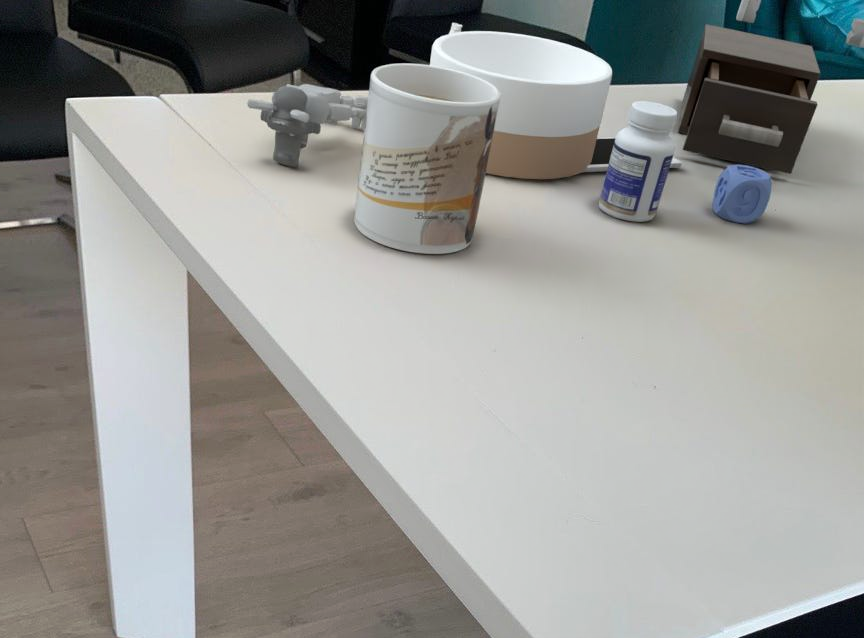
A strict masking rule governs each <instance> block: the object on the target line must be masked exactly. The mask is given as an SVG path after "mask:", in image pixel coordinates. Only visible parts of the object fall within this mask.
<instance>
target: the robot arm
mask: <svg viewBox="0 0 864 638" xmlns="http://www.w3.org/2000/svg"><path fill="white" fill-rule="evenodd" d="M761 2H762V0H741V2H740V4H739V7H738V10H737V14H736V17H735V19H736V21H739V22H743V23H747V24H748V23H749V24H754V23H755V21H756V17H757V11H758V10H759V9H760V5H761ZM850 27H851V30H850V31H849V32H848V34H847V37H846V39H845V43H846V45H849V46H853V47H857V48H861V49H864V19H863V18H857V17H855V18H854V19H853V21H852V23H851V26H850Z"/></svg>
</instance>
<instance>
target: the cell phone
mask: <svg viewBox="0 0 864 638" xmlns="http://www.w3.org/2000/svg"><path fill="white" fill-rule="evenodd" d="M615 139H616V136H614V137H613V136H612V137H611V136H610V137H597V140H596V144H595V148H594V153H593V157H592V161H591V163H590V164H589V165H588V167H587V168H586V170H584V171H583V172H582V173H597V172H598V173H599V172H607V169H608V165H609V161H610V157H611V153H612V149H613V145H614V142H615ZM681 166H682V161H681V160H680V159H677V158H676V157H674V156H673V158H672V161H671V165H670V168H669V169H680V168H681Z"/></svg>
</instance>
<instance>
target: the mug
mask: <svg viewBox="0 0 864 638" xmlns="http://www.w3.org/2000/svg"><path fill="white" fill-rule="evenodd" d="M367 94H368V96H367V97H368V103H367V111H366V120H365V129H364V131H363V137H362V138H363V139H362V145H361V156H360V163H359V171H358V172H359V173H358V183H357V191H356V199H355V206H354V207H355V208H354V215H353V216H354V217H353V222H354V226H355V227H356V228H357V231H359V232H360V233H361V234H362V235H364V236H365V237H367V238H368V239H370V240H371V241H374V242H376V243H377V244H380V245H382V246H386V247H389V248H392V249H396V250H399V251H405V252H410V253H416V254H426V255H427V254H428V255H429V254H430V255H442V254H451V253H455V252H459V251H462V250H464V249H466V248H468V246H470V244H471V243H472V242H473V240H474V236H475V230H476V225H477V220H478V214H479V210H480V205H481V199H482V194H483V191H484V190H483V189H484V183H485V179H486V175H487V173H486V169H487V164H488V159H489V154H490V149H491V143H492V138H493V133H494V128H495V123H496V118H497V113H498V108H499V102H500V97H501V95H500V92H499V90H498V89H497V88H496V87H495V86H494V85H492V84H490V83H489V82H487V81H485V80H483V79H481V78H479V77H476V76H473V75H470V74H467V73H464V72H461V71H457V70H453V69H448V68H443V67H438V66H431V65H430V64H423V63H408V62H407V63H406V62H405V63H389V64H385V65H380V66H378V67H375V68H374V69H373V70H372V71H371V73H370V78H369V87H368V93H367Z"/></svg>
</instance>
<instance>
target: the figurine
mask: <svg viewBox="0 0 864 638" xmlns="http://www.w3.org/2000/svg"><path fill="white" fill-rule="evenodd" d="M367 103H368V96H364V95H357V96H355V97H354V98H353V96H351V95H342V93H341V91H340V90H338V89H336V88H330V87H323V86H318V85H313V84H309V83H303V84H300V85H298V86H297V85H295V84H294V85H293V84H290V83H287V84H286V85H284V86H280V87H278V88H277V89H276V90H275V91H274V92H272V96H271V101H264V100H259V99H252V98H249V99H248V100H247V103H246V104H247V107H248V109H254V110H259V111H261V112H260V120H261V122H265V123H266V125H267V127H268V128H270V129H271V130H274V132H275V134H274V149H273V155H272V159H273V160H274V161H275V162H276V163H278V164H280V165H282V166H285V167H293V168H294V167H298V166H299V161H300V156H301V149H305V148H307V145H308V138H309V135H310V134H315V135H319V134H320V133H321V127H322V126H321V125H322V124H327V125H328V124H329V125H331V124H334V125H335V124H338V122H347V121H350V120H351V127H352V128H353V129H357V130H358V129H361V131H362V132H364V129H365V120H366V111H367Z"/></svg>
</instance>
